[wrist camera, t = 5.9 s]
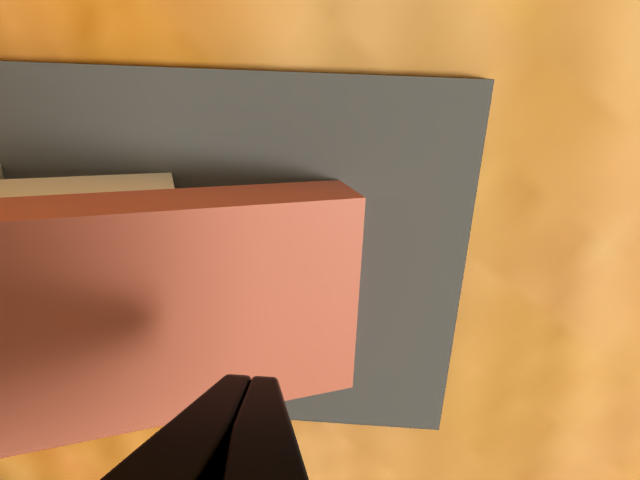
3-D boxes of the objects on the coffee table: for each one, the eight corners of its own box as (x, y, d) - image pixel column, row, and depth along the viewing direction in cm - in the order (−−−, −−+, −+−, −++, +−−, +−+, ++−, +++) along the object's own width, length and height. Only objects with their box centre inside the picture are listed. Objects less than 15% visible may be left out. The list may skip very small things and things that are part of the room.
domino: (365, 197, 10) (-162, 232, 7) (352, 387, 12) (-76, 473, 9) (339, 179, 12) (-113, 203, 9) (330, 351, 13) (-46, 417, 11)
